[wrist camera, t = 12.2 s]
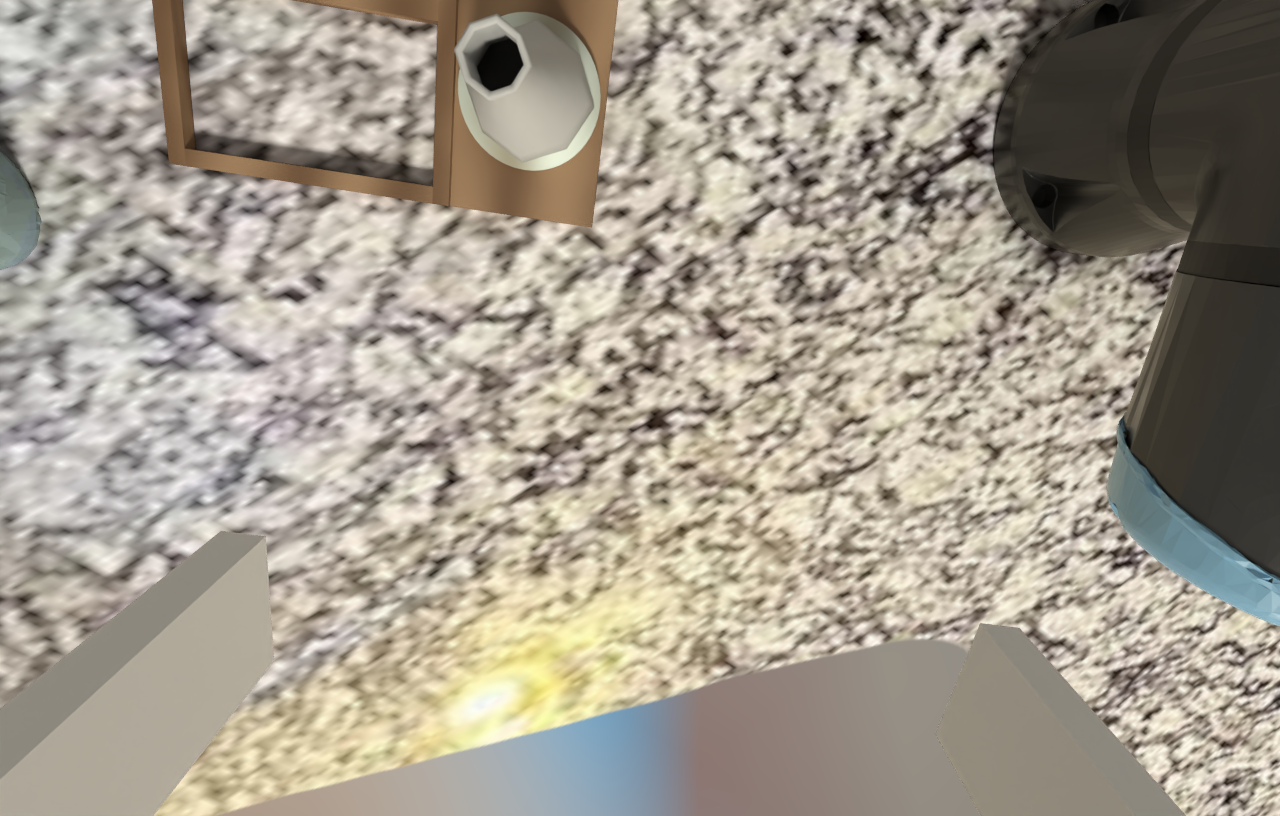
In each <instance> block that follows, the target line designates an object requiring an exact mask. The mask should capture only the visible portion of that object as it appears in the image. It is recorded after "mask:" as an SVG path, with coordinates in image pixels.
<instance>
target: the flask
mask: <svg viewBox="0 0 1280 816" xmlns="http://www.w3.org/2000/svg"><path fill="white" fill-rule="evenodd" d="M454 52H455V55H456V58H457V61H458V63H459V66H460V69H461V72H462V75H463V78H464V81H465V83H466V86H467V89H468V92H469V95H470V98H471V101H472V104H473V107H474V110H475V113H476V115H477V118H478V121H479V124H480V127H481V130H482V132H483V133H484V134H485V135H487V136H488V137H489V138H491V139H492V140H493V141H494V142H496V143H497V144H498V145H500V146H501V147H502V148H503V149H505V150H506V151H507V152H509V153H510V154H511V155H512V156H514V157H515V158H516V159H517V160H519V161H520V162H521V163H524V162H527V161H530V160H533V159H537V158H540V157H543V156H546V155H549V154H553V153H556V152H559V151H562V150H565V149H567V148H568V146H569V145H570V143H571V142H572V140H573V139H574V137H575V136H576V134H577V133H578V131H579V130H580V128H581V127H582V125H583V124H584V122H585V121H586V119H587V118H588V116H589V115H590V113H591V112H592V110H593V109H594V104H593V100H592V97H591V93H590V89H589V86H588V82H587V79H586V75H585V72H584V68H583V64H582V61H581V57H580V54H579V53H578V52H576V51H575V50H574V49H573V48H572V47H570V46H569V45H568V44H567V43H566V42H564V41H563V40H562V39H561V38H560V37H559V36H557V35H556V34H555V33H554V32H553V31H551V30H550V29H549V28H548V27H547V26H546V25H544V24H543V23H542V22H541V21H540V20H535V21H532V22H529V23H526V24H523V25H520V26H517V27H513V26H511V25H510V24H509V23H508V22H507V21H505V20H504V19H503V18H502V17H501V16H499V15H498V14H494V15H491V16H488V17H485V18H482V19H479V20H476V21H473V22H470V23H469V24H468V26H467V28H466V29H465V31H464V33H463V34H462V36H461V38H460V40H459V41H458V43H457V45H456V47H455V48H454Z"/></svg>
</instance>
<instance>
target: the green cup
mask: <svg viewBox="0 0 1280 816" xmlns="http://www.w3.org/2000/svg"><path fill="white" fill-rule="evenodd" d="M38 210H39V208H38V206H37V203H36V199H35V197H34V195H33V192H32V191H31V189H30V187H29V185H28V183H27V181H26V179H25V178H24V177H23V176H22V174H21V172H20V170H19V169H17V168H16V167H15V165H14V163H13V162H12V161H11V160H10V159H9V158H8V157H7V156H6V155H4V154H3V153H2V152H1V151H0V270H2V269H5V268H8V267H11V266H13V265H16V264H17V263H19V262H21V261H23V260H24V259H25V258H26V257H27V256H28V255H29V254H30V253H31V252H32V250H33V249H34V248H35V247H36V245H37V241H38V237H39V233H40V224H41V218H40V215H39V213H38Z"/></svg>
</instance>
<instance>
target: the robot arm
mask: <svg viewBox="0 0 1280 816" xmlns="http://www.w3.org/2000/svg"><path fill="white" fill-rule="evenodd" d="M994 168H995V175H996V180H997V185H998V188H999V191H1000V195H1001V197H1002V199H1003V202H1004V204H1005V206H1006V208H1007V210H1008V211H1009V213H1010V215H1011V216H1012V218H1013V219H1014V220H1015V221H1016V223H1017V224H1018V225H1019V226H1020V227H1021V228H1022V229H1023V230H1024V231H1025V232H1026V233H1027V234H1028V235H1030V236H1031V237H1032V238H1034V239H1035V240H1037V241H1038V242H1040V243H1042V244H1044V245H1046V246H1048V247H1051V248H1053V249H1056V250H1059V251H1063V252H1067V253H1073V254H1081V255H1089V256H1098V257H1118V256H1128V255H1135V254H1140V253H1144V252H1148V251H1151V250H1155V249H1158V248H1162V247H1165V246H1169V245H1172V244H1176V243H1179V242H1183V241H1186V240H1187V243H1186V246H1185V249H1184V252H1183V255H1182V258H1181V261H1180V264H1179V267H1178V269H1177V271H1176V273H1175V276H1174V279H1173V282H1172V285H1171V288H1170V290H1169V293H1168V296H1167V299H1166V302H1165V305H1164V308H1163V311H1162V314H1161V317H1160V320H1159V323H1158V326H1157V329H1156V332H1155V335H1154V338H1153V341H1152V343H1151V346H1150V349H1149V352H1148V355H1147V357H1146V360H1145V363H1144V366H1143V368H1142V371H1141V374H1140V377H1139V379H1138V382H1137V385H1136V388H1135V390H1134V393H1133V396H1132V399H1131V401H1130V404H1129V407H1128V410H1127V412H1126V413H1125V414H1124V416H1123V417H1122V419H1121V420H1120V421H1119V424H1118V426H1117V441H1118V445H1117V449H1116V452H1115V456H1114V459H1113V463H1112V467H1111V470H1110V474H1109V477H1108V482H1107V495H1108V500H1109V503H1110V506H1111V508H1112V509H1113V511H1114V513H1115V515H1116V516H1117V517H1118V518H1119V519H1120V522H1121V525H1122V526H1123V528H1124V529H1125V531H1126V532H1127V533H1128V534H1129V535H1130V536H1131V537H1132V538H1133V539H1134V540H1135V541H1136V542H1137V543H1138V544H1139V545H1140V546H1141V547H1142V548H1143V549H1144V550H1145V551H1147V552H1148V553H1149V554H1150V555H1151V556H1153V557H1154V558H1155V559H1156V560H1158V561H1159V562H1160V563H1162V564H1163V565H1164V566H1166V567H1167V568H1169V569H1170V570H1171V571H1173V572H1174V573H1176V574H1178V575H1179V576H1181V577H1182V578H1184V579H1185V580H1187V581H1188V582H1190V583H1192V584H1193V585H1195V586H1197V587H1199V588H1200V589H1202V590H1204V591H1205V592H1207V593H1209V594H1210V595H1212V596H1214V597H1216V598H1218V599H1220V600H1222V601H1224V602H1226V603H1228V604H1230V605H1231V606H1233V607H1235V608H1237V609H1240V610H1242V611H1244V612H1246V613H1248V614H1250V615H1253V616H1255V617H1257V618H1259V619H1262V620H1264V621H1267V622H1269V623H1272V624H1274V625H1277V626H1279V627H1280V0H1093V1H1091V2H1089V3H1087V4H1085V5H1083V6H1082V7H1080V8H1079V9H1077V10H1076V11H1074V12H1072V13H1071V14H1070V15H1068V16H1067V17H1066V18H1064V19H1063V20H1062V21H1061V22H1059V23H1058V24H1057V25H1056V26H1055V27H1054V28H1053V29H1052V30H1050V31H1049V32H1048V33H1047V34H1046V35H1045V36H1044V38H1043V39H1042V40H1041V41H1040V42H1039V43H1038V44H1037V45H1036V47H1035V48H1034V49H1033V50H1032V51H1031V53H1030V54H1029V55H1028V57H1027V58H1026V60H1025V61H1024V63H1023V64H1022V66H1021V67H1020V69H1019V70H1018V72H1017V74H1016V76H1015V77H1014V79H1013V81H1012V83H1011V85H1010V87H1009V89H1008V92H1007V94H1006V97H1005V99H1004V102H1003V105H1002V108H1001V111H1000V114H999V118H998V122H997V127H996V133H995V140H994ZM273 662H274V652H273V637H272V623H271V608H270V593H269V578H268V564H267V549H266V536H258V535H249V534H241V533H233V532H225V531H220V532H219V533H218V534H217V535H215V536H214V537H213V538H212V539H211V540H209V541H208V542H207V543H206V544H204V545H203V546H202V547H201V548H199V549H198V550H197V551H196V552H194V553H193V554H192V555H191V556H189V557H188V558H187V559H186V560H184V561H183V562H182V563H181V564H179V565H178V566H177V567H176V568H174V569H173V570H172V571H171V572H169V573H168V574H167V575H166V576H165V577H163V578H162V579H161V580H160V581H158V582H157V583H156V584H155V585H153V586H152V587H151V588H150V589H148V590H147V591H146V592H145V593H143V594H142V595H141V596H140V597H138V598H137V599H136V600H135V601H133V602H132V603H131V604H130V605H128V606H127V607H126V608H125V609H123V610H122V611H121V612H120V613H118V614H117V615H116V616H115V617H114V618H112V619H111V620H110V621H109V622H107V623H106V624H105V625H104V626H102V627H101V628H100V629H99V630H97V631H96V632H95V633H94V634H92V635H91V636H90V637H89V638H87V639H86V640H85V641H84V642H82V643H81V644H80V645H79V646H77V647H76V648H75V649H74V650H72V651H71V652H70V653H69V654H67V655H66V656H65V657H64V658H63V659H61V660H60V661H59V662H58V663H56V664H55V665H54V666H53V667H51V668H50V669H49V670H48V671H46V672H45V673H44V674H43V675H41V676H40V677H39V678H38V679H36V680H35V681H34V682H33V683H31V684H30V685H29V686H28V687H26V688H25V689H24V690H23V691H21V692H20V693H19V694H18V695H17V696H15V697H14V698H13V699H12V700H10V701H9V702H8V703H7V704H5V705H4V706H3V707H2V708H0V816H153V815H154V814H155V813H156V812H157V810H158V809H159V808H160V806H161V805H162V804H163V803H164V801H165V800H166V799H167V798H168V796H169V795H170V794H171V792H172V791H173V790H174V789H175V787H176V786H177V785H178V783H179V782H180V781H181V780H182V778H183V777H184V776H185V774H186V773H187V772H188V771H189V769H190V768H191V767H192V765H193V764H194V763H195V762H196V760H197V759H198V758H199V757H200V755H201V754H202V753H203V751H204V750H205V749H206V748H207V746H208V745H209V744H210V742H211V741H212V740H213V739H214V737H215V736H216V735H217V733H218V732H219V731H220V730H221V728H222V727H223V726H224V725H225V723H226V722H227V721H228V719H229V718H230V717H231V716H232V714H233V713H234V712H235V710H236V709H237V708H238V707H239V705H240V704H241V703H242V701H243V700H244V699H245V698H246V696H247V695H248V694H249V693H250V691H251V690H252V689H253V687H254V686H255V685H256V684H257V682H258V681H259V680H260V678H261V677H262V676H263V675H264V673H265V672H266V671H267V669H268V668H269V667H270V666H271V664H272V663H273ZM936 736H937V738H938V740H939V742H940V743H941V745H942V747H943V749H944V750H945V752H946V754H947V756H948V758H949V760H950V761H951V763H952V765H953V767H954V769H955V770H956V772H957V774H958V776H959V778H960V779H961V781H962V783H963V785H964V787H965V788H966V790H967V792H968V794H969V795H970V797H971V799H972V801H973V803H974V805H975V806H976V808H977V810H978V812H979V814H980V815H981V816H1186V815H1185V814H1184V813H1183V812H1182V811H1181V810H1180V808H1179V807H1178V806H1177V805H1176V804H1175V803H1174V802H1173V800H1172V799H1171V798H1170V797H1169V796H1168V795H1167V794H1166V793H1165V791H1164V790H1163V789H1162V788H1161V787H1160V786H1159V785H1158V784H1157V782H1156V781H1155V780H1154V779H1153V778H1152V777H1151V776H1150V775H1149V773H1148V772H1147V771H1146V770H1145V769H1144V768H1143V767H1142V766H1141V764H1140V763H1139V762H1138V761H1137V760H1136V759H1135V758H1134V757H1133V755H1132V754H1131V753H1130V752H1129V751H1128V750H1127V749H1126V748H1125V746H1124V745H1123V744H1122V743H1121V742H1120V741H1119V740H1118V739H1117V737H1116V736H1115V735H1114V734H1113V733H1112V732H1111V731H1110V730H1109V728H1108V727H1107V726H1106V725H1105V724H1104V723H1103V722H1102V721H1101V719H1100V718H1099V717H1098V716H1097V715H1096V714H1095V713H1094V712H1093V710H1092V709H1091V708H1090V707H1089V706H1088V705H1087V704H1086V702H1085V701H1084V700H1083V699H1082V698H1081V697H1080V696H1079V695H1078V693H1077V692H1076V691H1075V690H1074V689H1073V688H1072V687H1071V686H1070V684H1069V683H1068V682H1067V681H1066V680H1065V679H1064V678H1063V677H1062V675H1061V674H1060V673H1059V672H1058V671H1057V670H1056V669H1055V668H1054V666H1053V665H1052V664H1051V663H1050V662H1049V661H1048V660H1047V659H1046V657H1045V656H1044V655H1043V654H1042V653H1041V652H1040V651H1039V650H1038V648H1037V647H1036V646H1035V645H1034V644H1033V643H1032V642H1031V641H1030V639H1029V638H1028V637H1027V636H1026V635H1025V634H1024V633H1023V632H1022V630H1021V629H1020V628H1015V627H1007V626H999V625H991V624H982V623H980V625H979V628H978V630H977V633H976V635H975V638H974V640H973V643H972V645H971V648H970V650H969V652H968V655H967V658H966V660H965V662H964V665H963V667H962V670H961V672H960V675H959V677H958V680H957V682H956V685H955V687H954V690H953V692H952V694H951V697H950V699H949V702H948V704H947V707H946V709H945V712H944V714H943V717H942V719H941V722H940V724H939V726H938V729H937V731H936Z"/></svg>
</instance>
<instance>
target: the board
mask: <svg viewBox="0 0 1280 816" xmlns="http://www.w3.org/2000/svg"><path fill="white" fill-rule="evenodd" d="M294 1H300V2H306V3H312V4H318V5H324V6H329V7H335V8H341V9H347V10H353V11H359V12H365V13H371V14H377V15H383V16H389V17H395V18H401V19H407V20H413V21H419V22H425V23H431V24H436V25H438V38H437V70H436V103H435V135H434V168H433V186H428V185H422V184H415V183H409V182H402V181H396V180H389V179H383V178H376V177H370V176H363V175H357V174H350V173H344V172H337V171H331V170H324V169H318V168H311V167H305V166H298V165H292V164H285V163H279V162H272V161H266V160H259V159H253V158H246V157H240V156H233V155H227V154H220V153H214V152H207V151H201V150H196V147H195V136H194V125H193V114H192V103H191V91H190V80H189V69H188V58H187V47H186V36H185V25H184V14H183V3H182V0H152V3H153V13H154V22H155V32H156V41H157V51H158V61H159V70H160V80H161V89H162V99H163V108H164V118H165V128H166V137H167V147H168V156H169V163H170V164H176V165H183V166H189V167H196V168H202V169H209V170H215V171H222V172H229V173H235V174H242V175H248V176H255V177H261V178H268V179H275V180H281V181H288V182H294V183H301V184H307V185H314V186H320V187H327V188H334V189H340V190H347V191H353V192H360V193H366V194H373V195H380V196H386V197H393V198H399V199H406V200H412V201H419V202H425V203H432V204H439V205H445V206H454V207H461V208H467V209H474V210H480V211H487V212H494V213H500V214H507V215H513V216H520V217H526V218H533V219H539V220H546V221H553V222H559V223H566V224H572V225H579V226H585V227H592V223H593V214H594V205H595V197H596V188H597V180H598V171H599V162H600V154H601V145H602V136H603V128H604V119H605V110H606V102H607V93H608V84H609V76H610V67H611V58H612V50H613V41H614V32H615V24H616V15H617V6H618V0H294ZM494 14H498V15H499V16H501V17H502V18H503V19H504V20H505V21H507V22H508V23H509V24H510V25H511V26H513V27H517V26H520V25H523V24H526V23H529V22H532V21H535V20H540V21H541V22H542V23H543V24H544V25H546V26H547V27H548V28H549V29H550V30H551V31H553V32H554V33H555V34H556V35H557V36H559V37H560V38H561V39H562V40H563V41H564V42H566V43H567V44H568V45H569V46H570V47H572V48H573V49H574V50H575V51H576V52H578V53H579V54H580V57H581V61H582V64H583V68H584V72H585V75H586V79H587V82H588V86H589V89H590V93H591V97H592V100H593V104H594V109H593V110H592V112H591V113H590V115H589V116H588V118H587V119H586V121H585V122H584V124H583V125H582V127H581V128H580V130H579V131H578V133H577V134H576V136H575V137H574V139H573V140H572V142H571V143H570V145H569V146H568V148H567V149H565V150H562V151H559V152H556V153H553V154H549V155H546V156H543V157H540V158H537V159H533V160H530V161H527V162H524V163H521V162H520V161H519V160H517V159H516V158H515V157H514V156H512V155H511V154H510V153H509V152H507V151H506V150H505V149H503V148H502V147H501V146H500V145H498V144H497V143H496V142H494V141H493V140H492V139H491V138H489V137H488V136H487V135H485V134H484V133H483V132H482V130H481V127H480V124H479V121H478V118H477V115H476V113H475V110H474V107H473V104H472V101H471V98H470V95H469V92H468V89H467V86H466V83H465V81H464V78H463V75H462V72H461V69H460V66H459V63H458V61H457V58H456V55H455V52H454V48H455V47H456V45H457V43H458V41H459V40H460V38H461V36H462V34H463V33H464V31H465V29H466V28H467V26H468V24H469V23H470V22H473V21H476V20H479V19H482V18H485V17H488V16H491V15H494Z"/></svg>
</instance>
